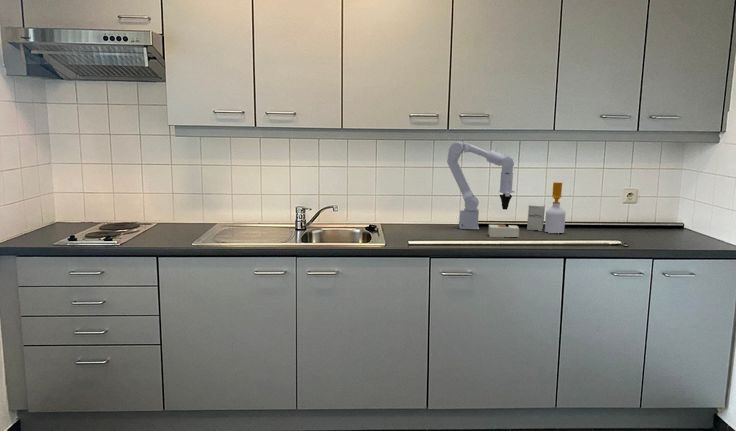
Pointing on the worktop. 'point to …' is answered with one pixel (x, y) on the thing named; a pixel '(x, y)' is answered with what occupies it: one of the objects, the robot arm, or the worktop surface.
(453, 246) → the worktop surface
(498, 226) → the slat
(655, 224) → the worktop surface
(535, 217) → the supplement box
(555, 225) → the soap bottle
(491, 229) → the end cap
